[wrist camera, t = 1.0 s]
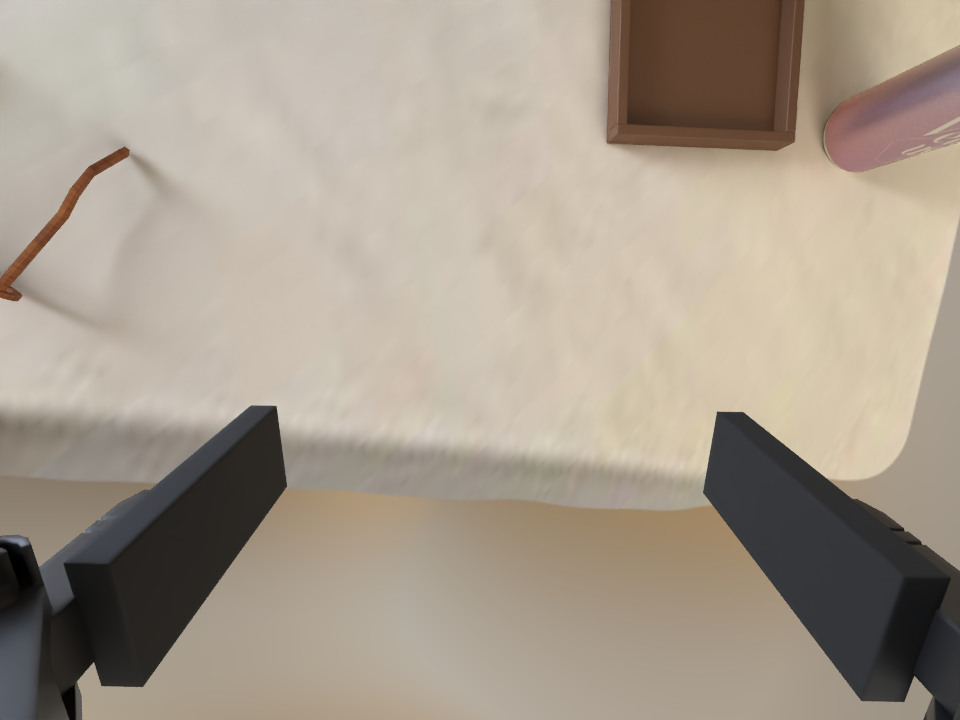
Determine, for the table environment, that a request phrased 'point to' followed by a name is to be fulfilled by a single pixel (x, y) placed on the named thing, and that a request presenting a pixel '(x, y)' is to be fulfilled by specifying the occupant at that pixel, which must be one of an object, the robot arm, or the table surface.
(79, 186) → the glasses
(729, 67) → the tray
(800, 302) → the table surface
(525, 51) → the table surface
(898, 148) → the beverage can
